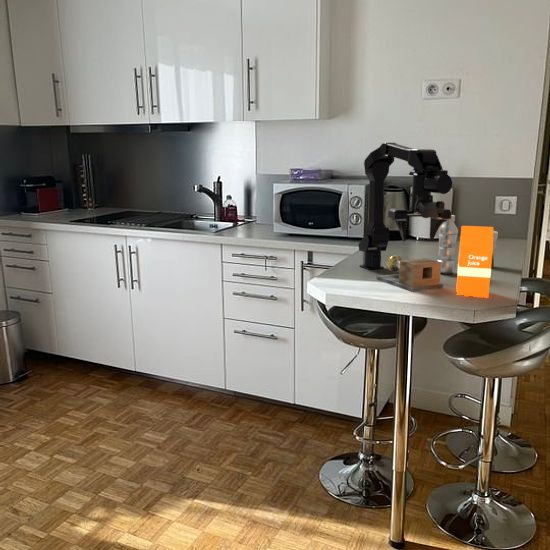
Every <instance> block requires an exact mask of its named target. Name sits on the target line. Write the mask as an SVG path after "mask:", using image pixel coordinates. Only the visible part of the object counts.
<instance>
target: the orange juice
mask: <svg viewBox="0 0 550 550" xmlns="http://www.w3.org/2000/svg"><path fill="white" fill-rule="evenodd" d="M460 230H461V231H460V241H459V249H458V262H457V273H456V274H457V275H456V276H457V277H456V286H455V287H456V288H455V292H457V294H456V296H457V295H464V296H463V297H469V296H473V298H483V297H484V298H486V299H489V295H490V293H489V292H490V283H491V274H492V267H491V264H492V253H493V254H494V252H493V251H494V250H493V231H494V227H493V226H478V225H477V226H476V225H461V229H460ZM484 298H483V299H484Z"/></svg>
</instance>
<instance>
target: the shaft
mask: <svg viewBox="0 0 550 550" xmlns="http://www.w3.org/2000/svg"><path fill="white" fill-rule="evenodd" d="M402 260H403V259H402V258H401V256H399V255H395V254H393V255H391V256H389V257H388V258H387V260H386V268H387V269H388V270H389V271H390V272H400V261H402Z"/></svg>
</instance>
